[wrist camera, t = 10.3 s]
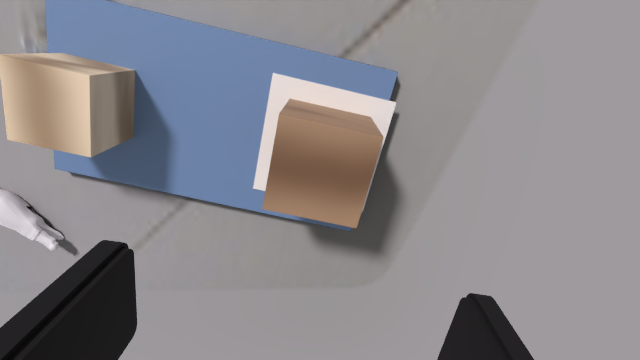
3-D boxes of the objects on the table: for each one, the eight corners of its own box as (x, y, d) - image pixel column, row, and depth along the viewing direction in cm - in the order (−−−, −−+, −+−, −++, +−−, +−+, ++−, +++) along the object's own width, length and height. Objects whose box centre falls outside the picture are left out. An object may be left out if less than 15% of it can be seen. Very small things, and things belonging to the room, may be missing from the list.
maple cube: (135, 69, 24) (89, 75, 19) (133, 137, 26) (90, 157, 21) (62, 52, 24) (-2, 54, 19) (65, 122, 25) (7, 139, 21)
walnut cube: (350, 190, 27) (356, 228, 21) (275, 174, 27) (262, 209, 21) (370, 116, 25) (383, 137, 19) (289, 98, 24) (278, 113, 19)
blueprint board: (401, 72, 25) (405, 74, 24) (355, 226, 29) (356, 233, 28) (55, -13, 23) (42, -15, 22) (63, 164, 28) (53, 169, 27)
